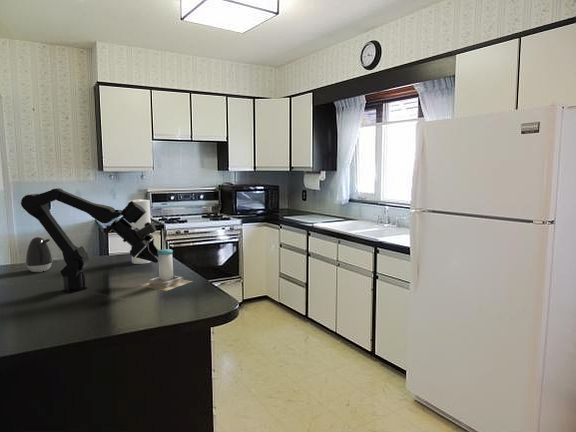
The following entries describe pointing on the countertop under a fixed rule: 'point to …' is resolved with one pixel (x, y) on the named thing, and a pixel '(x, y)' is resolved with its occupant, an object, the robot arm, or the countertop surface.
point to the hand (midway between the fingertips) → (159, 259)
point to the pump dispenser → (38, 255)
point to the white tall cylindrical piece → (165, 264)
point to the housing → (166, 283)
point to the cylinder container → (141, 224)
